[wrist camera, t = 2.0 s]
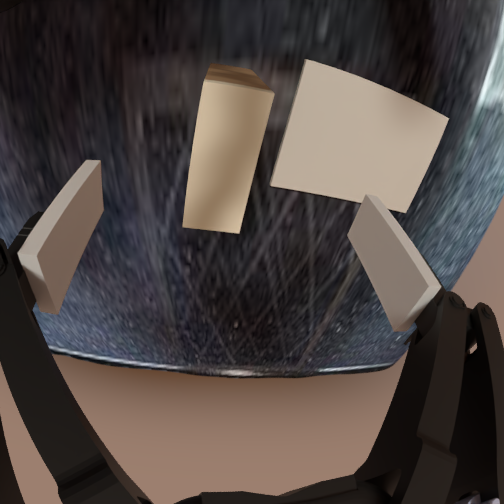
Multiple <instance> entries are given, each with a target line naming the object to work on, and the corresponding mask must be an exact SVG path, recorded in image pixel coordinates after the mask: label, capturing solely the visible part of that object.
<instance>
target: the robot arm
mask: <svg viewBox="0 0 504 504" xmlns="http://www.w3.org/2000/svg"><path fill="white" fill-rule="evenodd" d="M21 1H23V0H0V12H3V11H5V10H8V9H10V8H12V7H13V6H15V5H17V4H18V3H20V2H21ZM103 211H104V208H103V195H102V179H101V160H86V161H85V162H84V163H83V164H82V165H81V167H80V168H79V169H78V170H77V171H76V173H75V174H74V175H73V176H72V177H71V179H70V180H69V181H68V182H67V184H66V185H65V186H64V187H63V189H62V190H61V191H60V192H59V194H58V195H57V196H56V198H55V199H54V200H53V202H52V203H51V204H50V206H49V207H48V208H47V210H46V211H45V212H37V213H36V214H35V215H33V216H32V217H31V218H29V219H28V221H27V222H26V224H25V225H24V226H23V229H21V231H20V232H19V234H18V236H17V237H16V238H15V239H14V241H13V242H12V244H11V246H10V247H9V249H7V246H6V243H5V242H4V240H3V239H1V238H0V362H1V365H2V368H3V371H4V374H5V377H6V380H7V383H8V385H9V388H10V391H11V393H12V396H13V398H14V401H15V403H16V406H17V408H18V410H19V413H20V415H21V417H22V419H23V422H24V424H25V426H26V428H27V430H28V432H29V434H30V436H31V438H32V440H33V442H34V444H35V446H36V448H37V450H38V452H39V454H40V455H41V457H42V459H43V461H44V462H45V464H46V466H47V468H48V469H49V471H50V473H51V474H52V476H53V478H54V479H55V481H56V483H57V486H58V494H59V497H60V499H61V501H62V503H63V504H153V503H152V501H151V500H150V499H149V498H148V497H147V496H146V495H145V494H144V493H143V492H142V490H141V489H140V488H139V487H138V486H137V485H136V484H135V483H134V482H133V480H131V478H130V477H129V476H128V475H127V474H126V473H125V471H124V470H123V469H122V468H121V466H120V465H119V464H118V463H117V461H116V460H115V459H114V457H113V456H112V455H111V453H110V452H109V450H108V449H107V448H106V446H105V445H104V443H103V442H102V441H101V439H100V438H99V436H98V435H97V433H96V432H95V430H94V429H93V427H92V426H91V424H90V423H89V421H88V419H87V418H86V416H85V415H84V413H83V411H82V410H81V408H80V406H79V405H78V403H77V401H76V400H75V398H74V396H73V394H72V393H71V391H70V389H69V387H68V385H67V384H66V382H65V380H64V378H63V376H62V374H61V372H60V370H59V368H58V366H57V364H56V362H55V360H54V358H53V356H52V354H51V352H50V349H49V347H48V345H47V343H46V341H45V338H44V336H43V334H42V331H41V329H40V327H39V324H38V322H37V319H36V317H35V314H34V312H33V307H34V305H35V302H37V304H38V307H39V309H40V311H41V312H46V313H51V314H57V315H58V313H59V311H60V308H61V305H62V302H63V300H64V297H65V295H66V292H67V289H68V287H69V284H70V282H71V280H72V277H73V275H74V272H75V270H76V268H77V265H78V263H79V261H80V259H81V256H82V254H83V252H84V250H85V247H86V245H87V243H88V241H89V239H90V237H91V235H92V233H93V231H94V229H95V227H96V225H97V223H98V221H99V219H100V217H101V215H102V213H103ZM347 236H348V238H349V240H350V241H351V243H352V245H353V247H354V249H355V251H356V253H357V255H358V257H359V259H360V261H361V263H362V265H363V267H364V269H365V271H366V273H367V275H368V277H369V279H370V281H371V283H372V285H373V287H374V289H375V291H376V293H377V295H378V297H379V299H380V302H381V304H382V306H383V308H384V310H385V312H386V315H387V317H388V319H389V321H390V323H391V326H392V328H393V330H394V332H396V331H407V330H408V329H409V328H410V326H411V325H412V324H413V323H414V322H415V323H416V325H417V328H416V330H415V331H414V332H413V333H412V334H411V335H410V337H409V338H408V339H407V340H406V341H405V343H404V344H405V345H406V344H407V343H408V342H410V341H411V342H410V345H409V349H408V353H407V356H406V360H405V363H404V366H403V369H402V373H401V376H400V379H399V382H398V385H397V388H396V390H395V393H394V396H393V399H392V401H391V404H390V407H389V410H388V412H387V415H386V417H385V420H384V422H383V425H382V427H381V430H380V432H379V434H378V437H377V439H376V441H375V443H374V445H373V448H372V450H371V452H370V454H369V456H368V458H367V460H366V461H365V463H364V464H363V465H362V466H361V467H360V468H359V469H358V470H357V471H356V472H355V473H354V474H353V475H349V476H345V477H340V478H336V479H331V480H326V481H321V482H318V483H315V484H312V485H309V486H306V487H302V488H299V489H296V490H292V491H289V492H287V493H284V494H282V495H279V496H273V495H264V494H257V493H251V492H244V491H238V492H202V493H200V494H199V495H198V496H194V497H190V498H187V499H184V500H181V501H179V502H177V503H174V504H504V348H503V344H502V340H501V336H500V332H499V328H498V324H497V321H496V317H495V315H494V313H493V312H492V309H491V308H490V307H489V306H488V305H486V304H484V303H481V302H480V303H478V304H477V305H476V306H475V308H474V309H470V308H467V307H466V304H465V303H464V301H463V300H462V299H461V297H460V296H458V295H457V294H456V293H454V292H451V291H447V292H446V290H445V288H444V287H443V285H442V284H441V282H440V280H439V279H438V277H437V276H436V274H435V273H434V272H433V270H432V268H431V267H430V265H429V264H428V262H427V261H426V259H425V258H424V256H423V255H422V254H421V253H420V252H419V251H418V250H417V249H416V247H415V246H414V244H413V243H412V242H411V240H410V239H409V237H408V236H407V235H406V233H405V232H404V230H403V229H402V228H401V226H400V225H399V224H398V222H397V221H396V220H395V218H394V217H393V216H392V214H391V213H390V212H389V210H388V209H387V208H386V207H385V205H384V204H383V203H382V202H381V200H380V199H379V198H378V196H374V195H369V194H365V197H364V199H363V201H362V204H361V206H360V208H359V211H358V213H357V215H356V217H355V220H354V222H353V224H352V226H351V228H350V231H349V233H348V235H347ZM476 343H477V349H476V350H475V351H474V352H473V353H472V354H470V348H472V347H473V346H474V345H475V344H476ZM0 504H25V503H24V500H23V497H22V495H21V492H20V489H19V486H18V483H17V480H16V477H15V474H14V470H13V467H12V464H11V460H10V457H9V453H8V449H7V445H6V440H5V436H4V431H3V426H2V421H1V416H0Z"/></svg>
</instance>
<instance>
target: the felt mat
mask: <svg viewBox="0 0 504 504" xmlns="http://www.w3.org/2000/svg"><path fill="white" fill-rule="evenodd" d="M448 119H449V118H447V117H445V116H443V115H441V114H440V113H438V112H436V111H434V110H432V109H430V108H428V107H426V106H424V105H422V104H420V103H418V102H416V101H414V100H412V99H410V98H408V97H406V96H404V95H402V94H399V93H397V92H395V91H393V90H390V89H388V88H386V87H383V86H381V85H379V84H376V83H374V82H371V81H369V80H366V79H364V78H361V77H358V76H356V75H353V74H350V73H348V72H345V71H342V70H339V69H336V68H333V67H330V66H327V65H324V64H320V63H317V62H314V61H311V60H307V59H305V61H304V65H303V68H302V72H301V75H300V79H299V82H298V86H297V89H296V93H295V96H294V100H293V103H292V107H291V110H290V114H289V117H288V121H287V124H286V128H285V131H284V135H283V138H282V142H281V145H280V149H279V153H278V156H277V160H276V163H275V167H274V170H273V174H272V177H271V181H270V186H274V187H280V188H286V189H292V190H298V191H303V192H309V193H314V194H320V195H325V196H330V197H335V198H340V199H345V200H350V201H355V202H359V203H362V201H363V199H364V197H365V194H369V195H374V196H378V198H379V199H380V200H381V202H382V203H383V204H384V205H385V207H386V208H387V209H391V210H395V211H399V212H403V213H406V211H407V209H408V207H409V205H410V203H411V201H412V199H413V198H414V196H415V194H416V191H417V189H418V187H419V185H420V183H421V181H422V179H423V177H424V175H425V173H426V171H427V168H428V166H429V164H430V162H431V160H432V157H433V155H434V153H435V151H436V148H437V146H438V144H439V141H440V139H441V137H442V134H443V132H444V129H445V127H446V124H447V122H448Z"/></svg>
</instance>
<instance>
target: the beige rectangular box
mask: <svg viewBox="0 0 504 504" xmlns="http://www.w3.org/2000/svg"><path fill="white" fill-rule="evenodd" d="M273 98H274V93H273V92H272V91H271V90H270V88H269V87H268V86H267V85H266V84H265V83H264V82H263V81H262V80H261V79H260V78H259V77H258V76H257V75H256V74H255V73H254V72H253V71H252V70H250V69H245V68H239V67H234V66H227V65H221V64H214V63H211V64H210V67H209V69H208V72H207V74H206V77H205V80H204V83H203V88H202V94H201V99H200V105H199V110H198V116H197V122H196V128H195V135H194V141H193V148H192V155H191V162H190V169H189V176H188V184H187V192H186V200H185V209H184V218H183V227H186V228H195V229H204V230H213V231H222V232H230V233H239V232H240V228H241V224H242V220H243V216H244V212H245V208H246V204H247V199H248V195H249V191H250V187H251V183H252V179H253V175H254V171H255V168H256V164H257V160H258V156H259V152H260V148H261V144H262V140H263V136H264V132H265V128H266V125H267V121H268V117H269V113H270V109H271V105H272V102H273Z"/></svg>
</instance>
